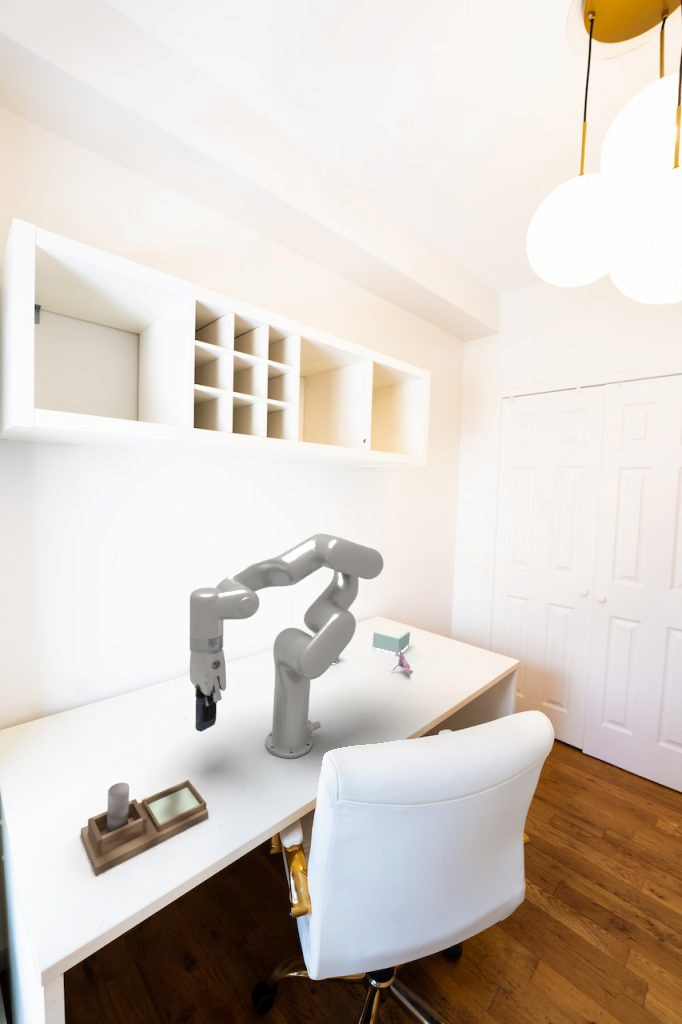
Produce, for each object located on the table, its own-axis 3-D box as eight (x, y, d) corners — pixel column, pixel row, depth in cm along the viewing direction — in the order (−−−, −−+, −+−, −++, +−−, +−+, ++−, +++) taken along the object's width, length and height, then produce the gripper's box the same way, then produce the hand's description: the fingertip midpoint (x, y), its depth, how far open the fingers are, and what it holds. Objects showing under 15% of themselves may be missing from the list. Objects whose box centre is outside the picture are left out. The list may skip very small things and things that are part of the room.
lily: (399, 686, 158) (414, 665, 158) (376, 664, 165) (390, 644, 164) (411, 685, 168) (425, 665, 167) (389, 664, 175) (403, 645, 174)
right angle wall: (408, 648, 193) (409, 632, 193) (397, 656, 183) (399, 639, 182) (384, 641, 199) (385, 625, 199) (372, 649, 189) (373, 632, 188)
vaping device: (192, 729, 102) (193, 680, 101) (211, 719, 106) (212, 672, 105) (199, 733, 100) (200, 684, 99) (218, 723, 105) (219, 676, 103)
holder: (185, 788, 98) (187, 744, 98) (207, 818, 90) (210, 770, 90) (80, 835, 84) (81, 784, 83) (95, 875, 76) (97, 819, 75)
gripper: (238, 648, 98) (237, 725, 100) (206, 628, 110) (205, 697, 111) (207, 657, 93) (206, 738, 94) (176, 635, 105) (176, 707, 106)
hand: (206, 715), depth 103 cm, fingers closed on vaping device, 2 cm apart
